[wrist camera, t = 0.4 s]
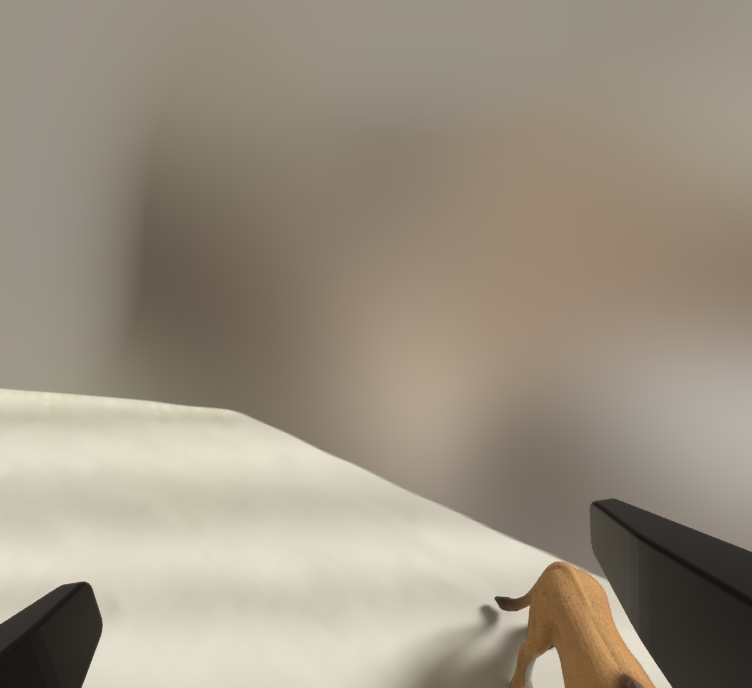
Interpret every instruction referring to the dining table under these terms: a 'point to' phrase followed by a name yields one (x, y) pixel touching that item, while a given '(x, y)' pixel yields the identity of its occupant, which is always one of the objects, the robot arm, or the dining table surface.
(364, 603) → the dining table surface
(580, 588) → the lion figurine
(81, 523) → the dining table surface
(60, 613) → the robot arm
